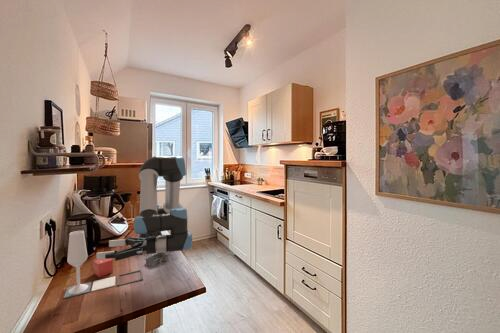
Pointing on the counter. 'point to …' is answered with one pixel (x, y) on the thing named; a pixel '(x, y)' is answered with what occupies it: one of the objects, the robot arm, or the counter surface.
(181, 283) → the counter surface
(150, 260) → the egg carton
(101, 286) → the game track
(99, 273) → the red die
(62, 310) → the counter surface
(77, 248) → the champagne flute
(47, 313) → the counter surface
